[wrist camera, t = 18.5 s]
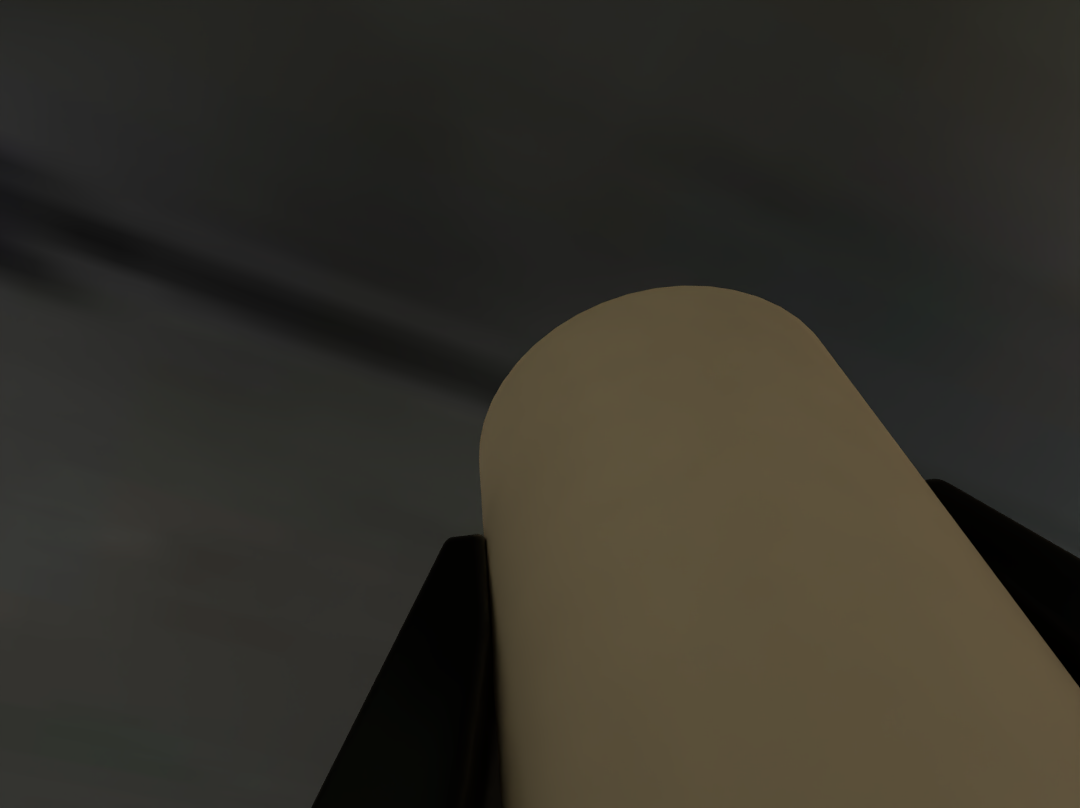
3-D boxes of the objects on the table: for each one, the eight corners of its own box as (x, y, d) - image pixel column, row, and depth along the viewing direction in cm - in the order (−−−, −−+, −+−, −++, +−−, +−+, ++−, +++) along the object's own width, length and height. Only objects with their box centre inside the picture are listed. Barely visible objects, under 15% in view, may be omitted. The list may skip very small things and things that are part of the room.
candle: (862, 503, 11) (1306, 1207, 5) (557, 609, 12) (668, 1337, 6) (804, 219, 8) (1553, 1014, 3) (413, 376, 9) (370, 1279, 3)
